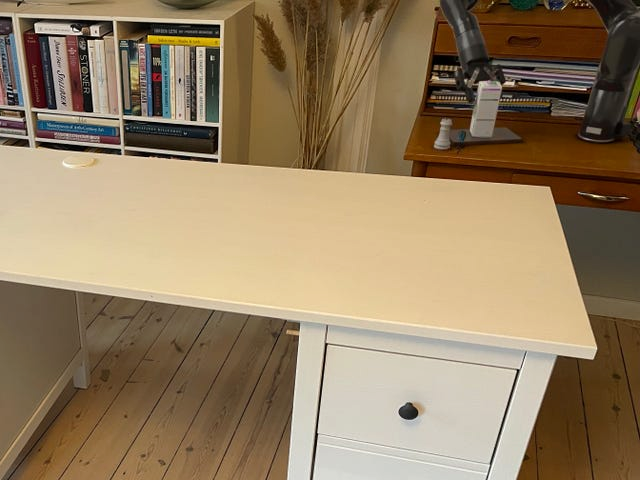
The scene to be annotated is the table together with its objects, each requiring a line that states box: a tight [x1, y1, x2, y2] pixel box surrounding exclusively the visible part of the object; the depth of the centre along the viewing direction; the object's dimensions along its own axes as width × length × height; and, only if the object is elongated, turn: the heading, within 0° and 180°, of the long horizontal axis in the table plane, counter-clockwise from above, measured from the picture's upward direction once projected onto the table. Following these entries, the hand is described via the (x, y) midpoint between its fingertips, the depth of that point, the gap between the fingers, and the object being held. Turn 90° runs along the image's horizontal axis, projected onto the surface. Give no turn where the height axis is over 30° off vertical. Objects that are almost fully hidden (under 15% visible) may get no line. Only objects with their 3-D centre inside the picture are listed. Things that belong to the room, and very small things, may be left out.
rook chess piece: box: [433, 118, 453, 151], centre depth 209 cm, size 4×4×8 cm
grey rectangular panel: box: [449, 126, 523, 147], centre depth 217 cm, size 20×11×1 cm, turn 93°
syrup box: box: [469, 81, 503, 137], centre depth 212 cm, size 6×6×14 cm
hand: (485, 101), depth 212 cm, fingers open, 8 cm apart
